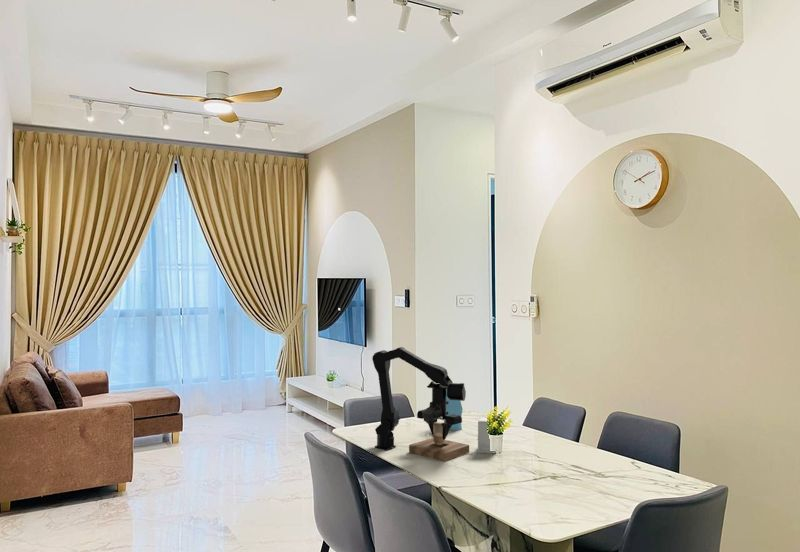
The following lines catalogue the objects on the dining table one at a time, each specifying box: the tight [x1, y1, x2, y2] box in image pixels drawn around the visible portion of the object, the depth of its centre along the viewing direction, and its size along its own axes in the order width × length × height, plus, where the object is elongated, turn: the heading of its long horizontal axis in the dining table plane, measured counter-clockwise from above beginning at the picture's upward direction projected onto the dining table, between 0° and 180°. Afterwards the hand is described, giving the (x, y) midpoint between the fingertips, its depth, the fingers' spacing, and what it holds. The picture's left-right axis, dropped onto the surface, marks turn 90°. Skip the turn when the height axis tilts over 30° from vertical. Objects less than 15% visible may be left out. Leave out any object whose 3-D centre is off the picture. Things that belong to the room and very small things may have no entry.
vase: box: [446, 389, 463, 431], centre depth 283 cm, size 8×8×20 cm
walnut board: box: [408, 437, 470, 462], centre depth 242 cm, size 18×16×3 cm
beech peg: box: [432, 421, 446, 445], centre depth 242 cm, size 5×5×8 cm
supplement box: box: [477, 417, 497, 454], centre depth 245 cm, size 7×7×13 cm
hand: (439, 438), depth 242 cm, fingers closed on beech peg, 5 cm apart
